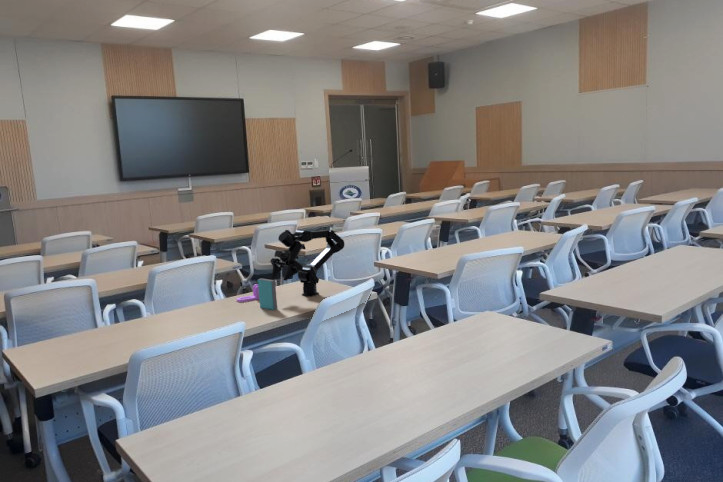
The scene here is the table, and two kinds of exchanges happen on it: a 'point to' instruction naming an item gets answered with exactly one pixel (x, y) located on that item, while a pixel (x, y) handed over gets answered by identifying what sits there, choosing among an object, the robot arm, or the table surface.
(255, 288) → the bracket
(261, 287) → the tile
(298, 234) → the robot arm
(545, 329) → the table surface
